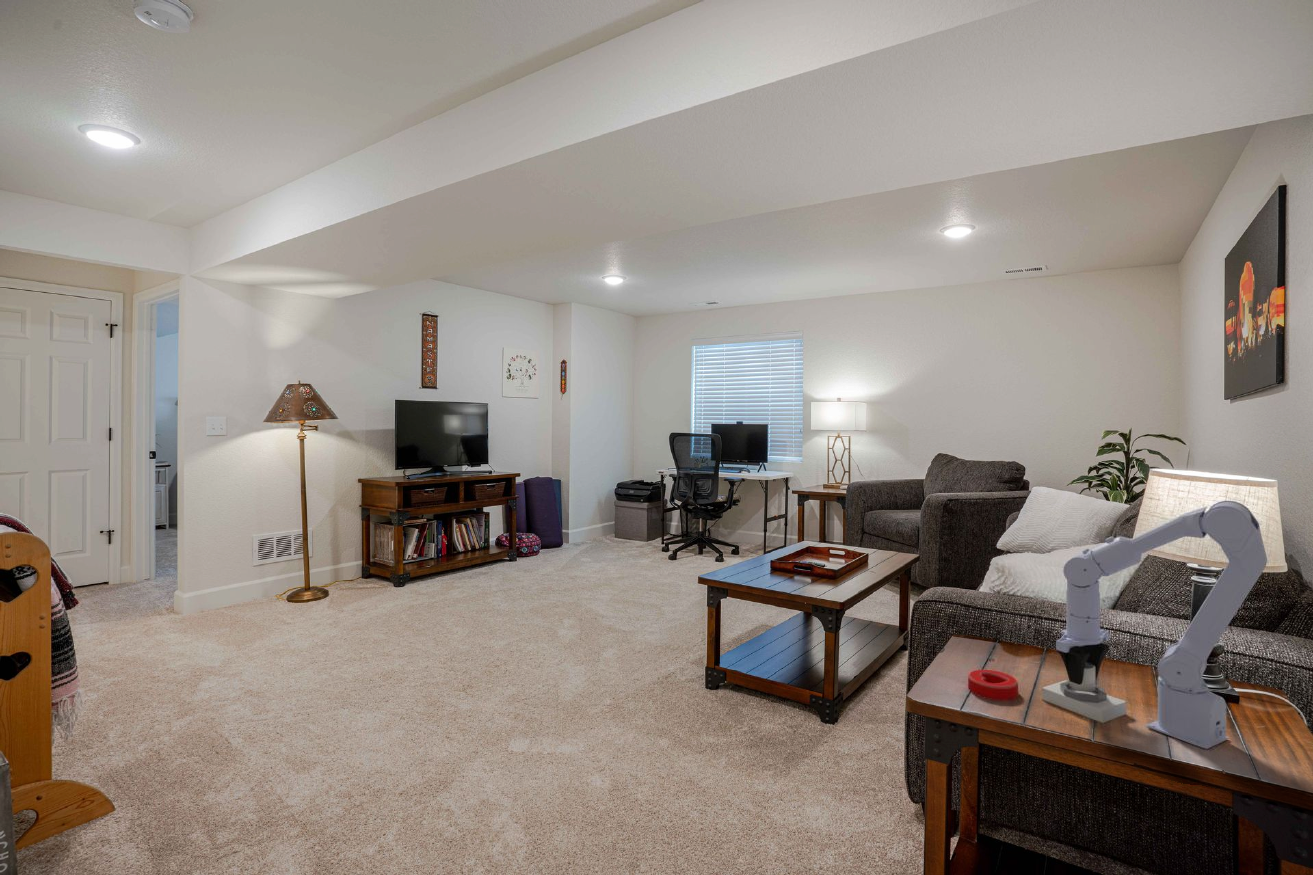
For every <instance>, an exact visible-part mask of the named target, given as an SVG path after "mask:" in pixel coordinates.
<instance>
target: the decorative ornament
mask: <svg viewBox="0 0 1313 875" xmlns="http://www.w3.org/2000/svg"><path fill="white" fill-rule="evenodd" d="M967 688H968V690H969V691H970V692H971V693H972V694H973V695H976V696H978V695H979V696H978V697H980V696H981V698H983V697H985V698H984V699H987V698H988V700H992V699H995V701H1011V700H1010V699H1013V700H1015V699H1016V697H1017V696H1018V697H1019V682H1018V680H1017V679H1016V678H1015V677H1014V676H1012V675H1010V674H1008V673H1005V672H1002V671H997V670H994V669H993V670H992V669H976V670H975V669H974V670H972V671H970V672H969V673H968V676H967ZM1018 697H1017V698H1018ZM1014 698H1015V699H1014Z"/></svg>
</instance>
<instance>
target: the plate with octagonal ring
mask: <svg viewBox="0 0 1313 875" xmlns="http://www.w3.org/2000/svg"><path fill="white" fill-rule="evenodd" d="M1042 699H1043V701H1045V702H1047V703H1050V704H1052V705H1056V706H1057V707H1060V708H1063V709H1065V710H1068V711H1071V712H1073V713H1076V714H1078V715H1081V716H1083V717H1086V718H1088V719H1091V720H1094V721H1097V722H1100V723H1102V724H1104V723H1106V722H1110V721H1112V720H1115V719H1117V718H1120V717H1122V716H1125V715H1127V700H1123V699H1121V698H1118V697H1114V696H1113V695H1112V696H1111V695H1109V694H1107V692H1106V691H1105V689H1104V688H1102V687H1101V686H1098V685H1095V691H1092V692H1085V691H1079V690H1076V689H1074V688H1072V687H1070V681H1069V680H1066V679H1064V680H1061V681H1059V682H1056V683H1055V682H1054V683H1053V684H1049V685H1046V686H1043V687H1041V700H1042Z"/></svg>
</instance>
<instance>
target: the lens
mask: <svg viewBox="0 0 1313 875" xmlns="http://www.w3.org/2000/svg"><path fill="white" fill-rule="evenodd" d="M1095 686H1096V679H1095V666H1094V665H1093V663H1091V662H1088V661H1086V664H1085V668H1084V676H1083V681H1082V684H1080V685H1079V684H1076V683H1073V682H1070V687H1072V688H1074V689H1076V690H1079V691H1085V692H1092V691H1095Z"/></svg>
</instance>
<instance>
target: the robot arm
mask: <svg viewBox="0 0 1313 875" xmlns="http://www.w3.org/2000/svg"><path fill="white" fill-rule="evenodd" d="M1207 508H1208V506H1204V507H1201V508H1197V509H1195V510H1192V511H1188V512H1186V513H1183V514H1180V515H1179V516H1176V517H1174V518H1173V519H1172V518H1171V519H1170V520H1168V521H1166V522H1164V523H1162V524H1160V525H1158V526H1156V527H1154V528H1152V529H1150V530H1148V531H1146V532H1143V533H1141V534H1140V535H1137V536H1135V537H1133V538H1129V537H1127V536H1126V537H1125V536H1122V535H1121V536H1117V537H1114V536H1110V537H1107V538H1105V539H1104V540H1105V542H1104V543H1101V544H1100V545H1097V546H1096V547H1093V548H1091V549H1089V548H1086V549H1083V550H1082V553H1081V554H1077V555H1074V556H1073V557H1071V558H1070V559H1069V560H1068V561H1066V563H1065V564H1064V566H1063V575H1064V577H1065V580H1066V590H1065V592H1066V593H1065V594H1066V602H1065V603H1066V604H1065V605H1066V609H1065V610H1066V614H1065V615H1066V616H1065V617H1066V618H1065V620H1066V629H1063V630H1060V633H1061V635H1062V636H1061V637H1060V639H1059V638H1058V639H1057V640H1056V642H1055V646H1056V647H1055V649H1056V650H1055V651H1057V652H1058V654H1059V656H1060V657H1061V659H1062V661H1063V664H1064V666H1065V670H1066V673H1067V677H1068V681H1070V682H1073V683H1076V684H1079V685H1080V684H1082V681H1083V676H1084V668H1085V664H1086V661H1088V662H1091V663H1093V665H1094V666H1095V680H1097V678H1098V675H1099V672H1100V669H1101V666H1102V662H1103V661H1104V658H1105V657H1106V655H1107V654H1108V652H1109V651H1110V645H1109V644H1105V643H1103V642H1102V641H1104V642H1108V641H1109V640H1110V637H1109V636H1110V634H1109V633H1110V632H1109V631H1108V630H1104V629H1101V594H1100V581H1099V580H1101V578H1102V577H1109V576H1111V575H1114V574H1116V573H1119V572H1121V571H1123V570H1126V569H1128V568H1132V567H1133V566H1135V565H1137V564H1140V562H1141V560H1142V555H1143V554H1144V553H1147V552H1149V551H1151V550H1154V549H1157V548H1160V547H1162V546H1164V545H1167V544H1169V543H1172V542H1174V541H1177V540H1179V539H1182V538H1185V537H1191V538H1199V539H1205V537H1206V536H1207V535H1208V536H1209V537H1210V538H1211V539H1212V540H1213V541H1215V543H1217V544H1218V545H1219V546H1220V548H1221V550H1222V551H1223V553H1224V554H1225V556H1226V558H1227V560H1228V563H1227V565H1226V566H1225V568H1224V569H1223V571H1222V572H1221V574H1220V575H1219V577H1218V579H1217V580H1216V582H1215V584H1214V585H1213V586H1212V589H1211V590H1210V591H1209V593H1208V595H1207V596H1206V598H1205V600H1204V601H1203V603H1202V605H1201V606H1200V607H1199V609H1198V611H1197V613H1196V614H1195V616H1194V617H1193V619H1192V620H1191V622H1190V623H1189V625H1188V626H1187V629H1186V630H1185V632H1184V633H1183V634H1182V636H1181V638H1180V639H1179V640H1178V641H1177V642H1175V643H1173V644H1171V645H1169V646H1168V647H1167V648H1166V650H1165V651H1164V655H1163V656H1162V658H1161V659H1160V660H1159V662H1158V664H1157V673H1158V677H1157V720H1155V721H1153V722H1150V723H1148V724H1147V725H1146V727H1147V728H1149V729H1150V730H1153V731H1157V732H1159V733H1163V734H1164V735H1166V736H1170V737H1173V738H1175V739H1178V740H1181V741H1183V742H1186V743H1188V744H1191V745H1194V746H1196V747H1199V748H1202V749H1205V750H1208V749H1210V748H1212V747H1214V746H1216V745H1218V744H1220V743H1222V742H1225V741H1227V740H1228V739H1229V736H1228V735H1227V704H1226V700H1225V699H1224V698H1223V697H1222V696H1220V695H1218V694H1215V693H1213V692H1212V691H1210V690H1209V687H1208V684H1207V683H1206V682H1205V680H1204V679H1203V675H1204V672H1205V671H1206V669H1207V666H1208V665H1207V664H1208V662H1207V660H1208V658H1209V656H1210V655H1211V654H1212V651H1213V649H1214V648H1215V646H1216V645H1217V643H1218V641H1219V640H1220V638H1221V636H1222V635H1223V633H1224V632H1225V631H1226V629H1227V627H1228V626H1229V624H1230V623H1231V622H1232V620H1233V618H1234V617H1235V615H1236V613H1238V610H1239V609H1240V607H1241V606H1242V604H1243V603H1244V601H1245V599H1246V597H1247V596H1248V595H1249V594H1250V593H1251V592H1250V591H1251V590H1252V588H1254V585H1255V584H1256V583H1257V581H1258V579H1259V578H1260V577H1261V575H1262V574H1263V571H1264V570H1265V568H1266V566H1267V563H1268V557H1267V552H1266V549H1265V546H1264V545H1265V544H1264V541H1263V537H1262V533H1261V528H1260V522H1259V520H1258V519H1257V518H1256V517H1255V516H1254V514H1253V513H1252V511H1251V510H1250V508H1248V507H1247V506H1246V505H1244V504H1242V503H1241V502H1238V501H1236V500H1235V501H1234V500H1222V501H1218V502H1216V503H1213V505H1211V506H1210V507H1209V509H1208V510H1207V511H1206V509H1207Z"/></svg>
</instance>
